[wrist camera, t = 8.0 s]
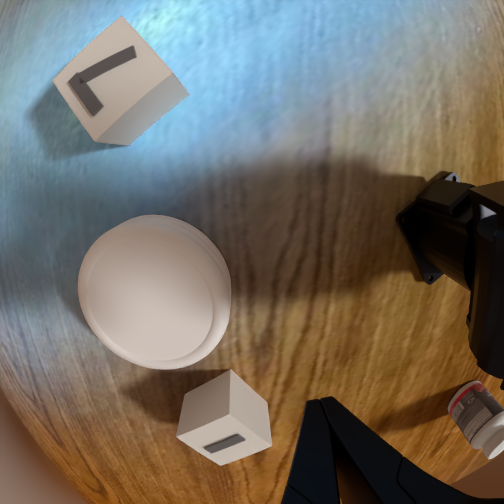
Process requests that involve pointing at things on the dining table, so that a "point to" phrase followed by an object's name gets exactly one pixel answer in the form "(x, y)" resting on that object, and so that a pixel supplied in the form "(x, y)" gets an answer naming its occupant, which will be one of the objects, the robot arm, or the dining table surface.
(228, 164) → the dining table surface
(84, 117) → the block seven
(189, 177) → the dining table surface
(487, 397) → the pill bottle
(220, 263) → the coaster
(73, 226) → the dining table surface
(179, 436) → the block one
